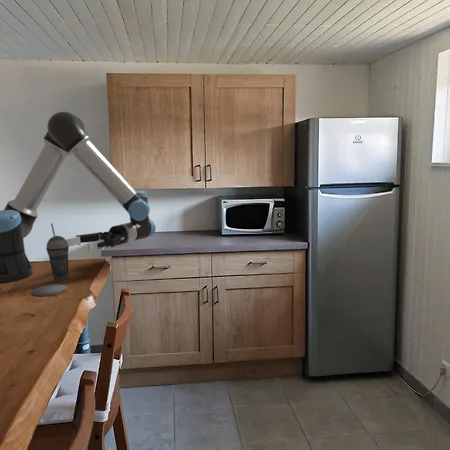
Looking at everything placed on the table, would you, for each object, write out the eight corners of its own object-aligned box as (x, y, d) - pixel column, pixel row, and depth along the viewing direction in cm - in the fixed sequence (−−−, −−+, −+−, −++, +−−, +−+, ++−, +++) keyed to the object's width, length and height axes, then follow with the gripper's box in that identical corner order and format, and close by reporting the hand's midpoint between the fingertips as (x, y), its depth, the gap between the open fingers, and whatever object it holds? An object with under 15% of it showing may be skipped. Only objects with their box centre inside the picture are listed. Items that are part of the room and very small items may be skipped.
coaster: (26, 293, 144) (26, 291, 144) (54, 284, 152) (54, 282, 152) (45, 298, 138) (44, 296, 138) (73, 288, 146) (72, 287, 146)
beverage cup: (65, 283, 152) (58, 225, 148) (45, 283, 154) (38, 225, 150) (76, 277, 159) (70, 221, 156) (57, 277, 161) (51, 221, 157)
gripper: (145, 246, 170) (100, 259, 153) (102, 240, 184) (56, 252, 168) (144, 226, 169) (98, 237, 152) (100, 222, 183) (54, 232, 166)
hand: (76, 245), depth 160 cm, fingers open, 13 cm apart
